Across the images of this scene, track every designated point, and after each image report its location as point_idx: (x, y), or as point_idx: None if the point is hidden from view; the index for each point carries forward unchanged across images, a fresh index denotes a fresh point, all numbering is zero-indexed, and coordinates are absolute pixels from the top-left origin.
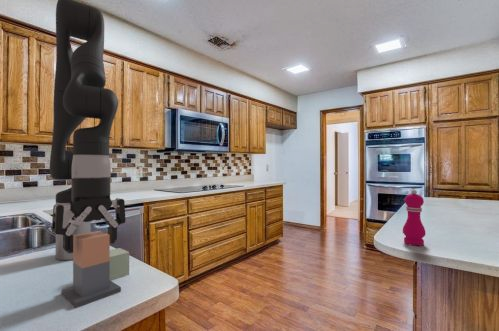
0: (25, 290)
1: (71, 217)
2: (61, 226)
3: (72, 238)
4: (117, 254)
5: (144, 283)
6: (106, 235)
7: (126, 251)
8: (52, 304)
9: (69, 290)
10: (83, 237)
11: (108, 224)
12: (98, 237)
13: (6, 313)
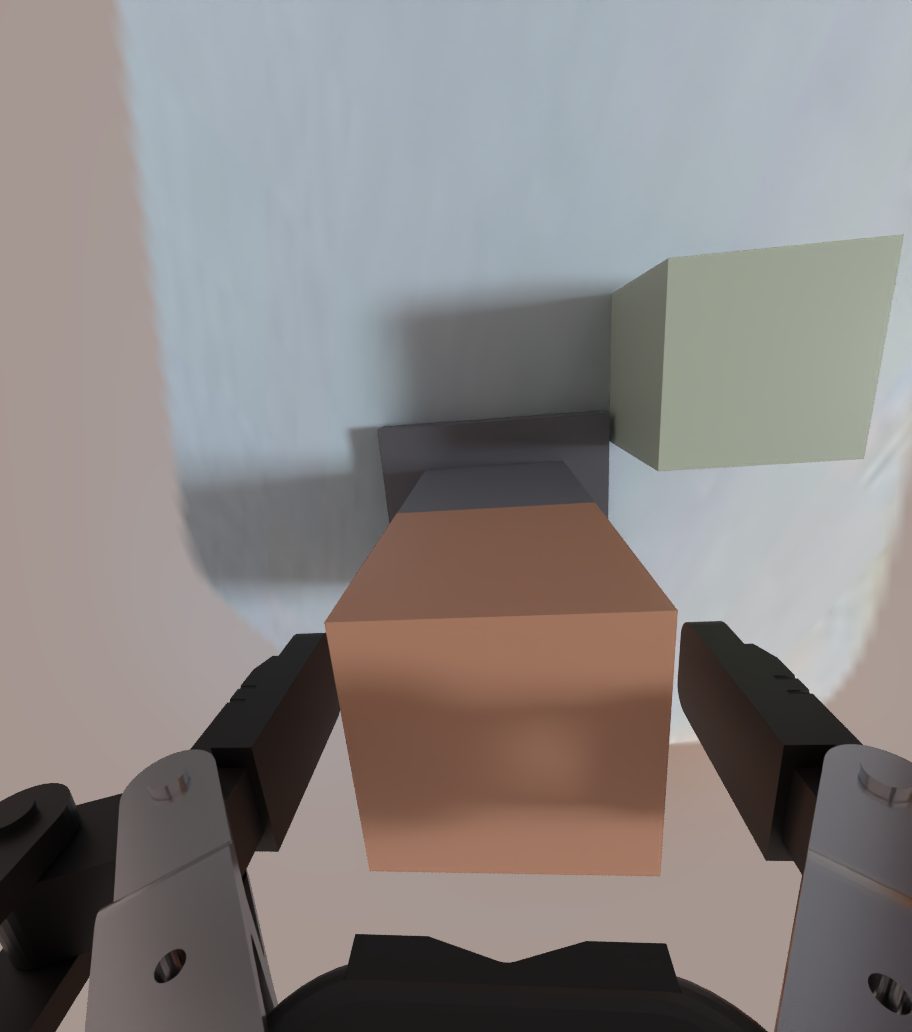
0: (233, 212)
1: (92, 1019)
2: (42, 1029)
3: (284, 819)
4: (758, 446)
5: (729, 609)
6: (622, 872)
7: (861, 421)
8: (337, 515)
9: (407, 475)
10: (401, 797)
11: (818, 796)
12: (531, 866)
13: (181, 462)
